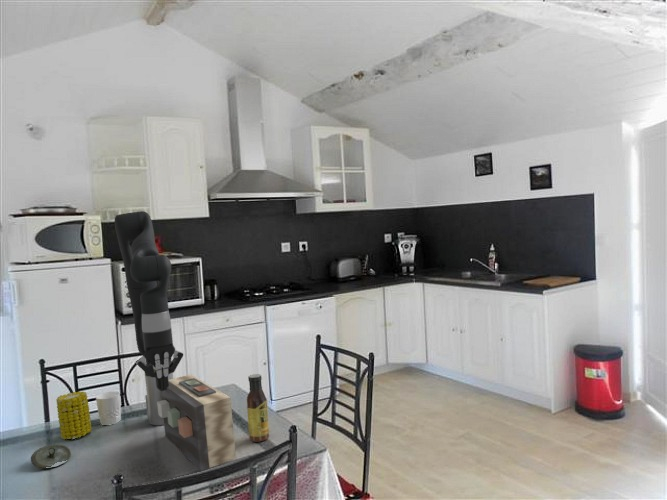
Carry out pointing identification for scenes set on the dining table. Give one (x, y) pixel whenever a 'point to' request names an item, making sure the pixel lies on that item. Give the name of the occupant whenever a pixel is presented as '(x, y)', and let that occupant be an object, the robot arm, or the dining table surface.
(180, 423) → the terracotta key
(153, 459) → the dining table surface
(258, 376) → the sauce bottle
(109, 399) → the white cup
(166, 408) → the ivory key
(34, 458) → the lid
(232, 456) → the keypad
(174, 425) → the sage key
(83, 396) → the food
